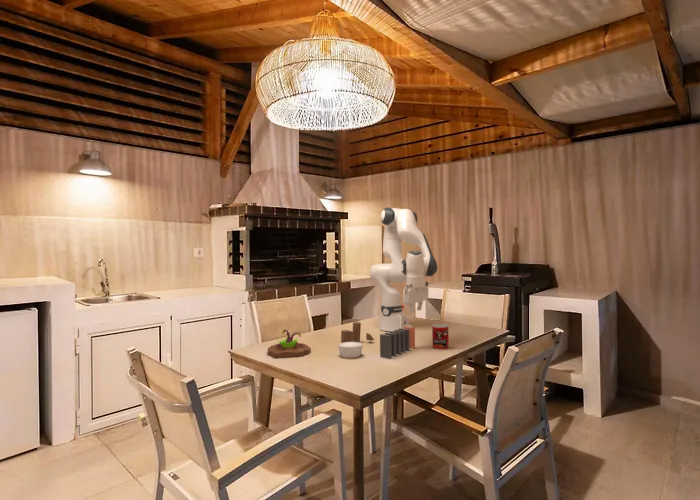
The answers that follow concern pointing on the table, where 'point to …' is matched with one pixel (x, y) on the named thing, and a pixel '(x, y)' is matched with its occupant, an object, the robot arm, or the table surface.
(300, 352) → the plant
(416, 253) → the robot arm
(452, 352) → the table surface
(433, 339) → the canned food
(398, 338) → the tile
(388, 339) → the tile
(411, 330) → the tile
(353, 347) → the ramekin
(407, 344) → the tile
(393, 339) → the tile
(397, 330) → the tile
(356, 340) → the wooden block set
